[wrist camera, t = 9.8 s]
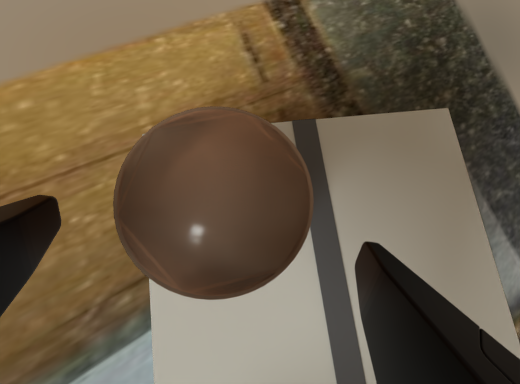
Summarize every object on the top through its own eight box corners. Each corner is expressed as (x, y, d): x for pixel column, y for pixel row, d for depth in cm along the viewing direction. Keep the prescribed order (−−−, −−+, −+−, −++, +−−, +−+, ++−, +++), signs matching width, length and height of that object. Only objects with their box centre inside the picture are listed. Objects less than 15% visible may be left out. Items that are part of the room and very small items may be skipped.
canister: (290, 256, 19) (349, 236, 9) (202, 305, 18) (165, 342, 8) (245, 173, 20) (256, 79, 10) (159, 215, 19) (82, 154, 9)
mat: (535, 408, 18) (541, 411, 18) (160, 485, 16) (158, 490, 16) (445, 110, 23) (448, 107, 22) (143, 136, 20) (142, 133, 20)
